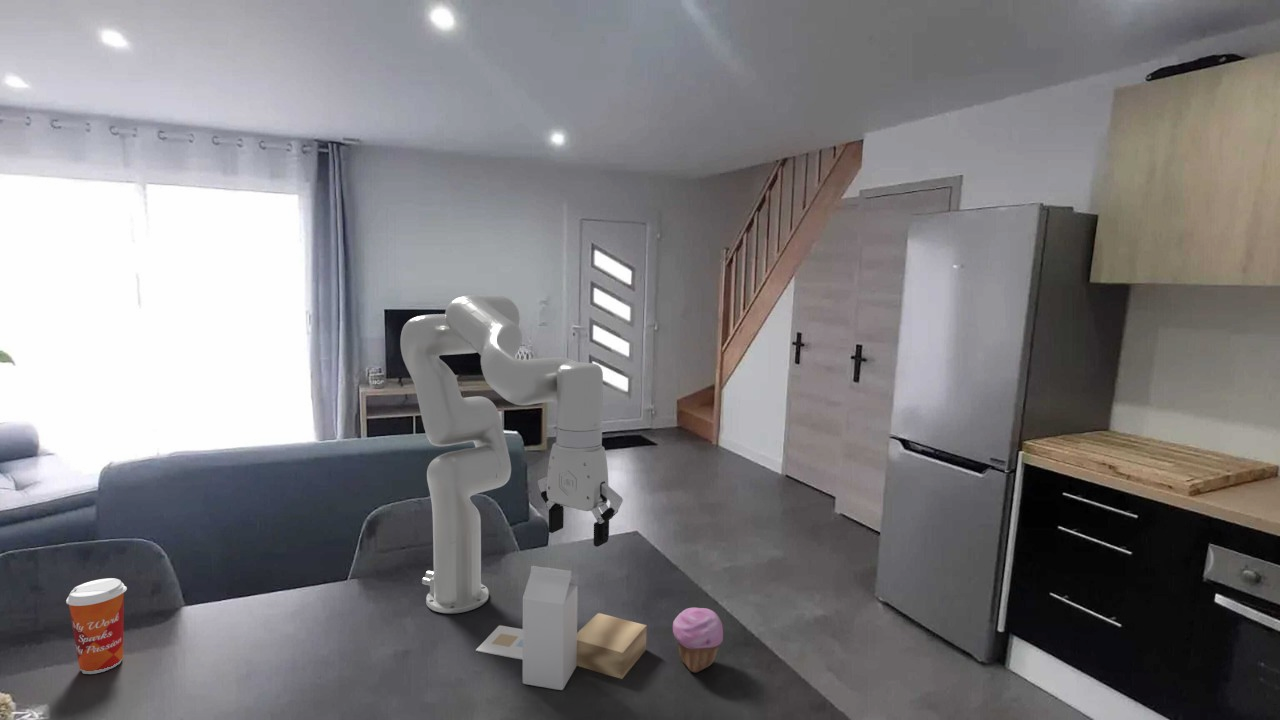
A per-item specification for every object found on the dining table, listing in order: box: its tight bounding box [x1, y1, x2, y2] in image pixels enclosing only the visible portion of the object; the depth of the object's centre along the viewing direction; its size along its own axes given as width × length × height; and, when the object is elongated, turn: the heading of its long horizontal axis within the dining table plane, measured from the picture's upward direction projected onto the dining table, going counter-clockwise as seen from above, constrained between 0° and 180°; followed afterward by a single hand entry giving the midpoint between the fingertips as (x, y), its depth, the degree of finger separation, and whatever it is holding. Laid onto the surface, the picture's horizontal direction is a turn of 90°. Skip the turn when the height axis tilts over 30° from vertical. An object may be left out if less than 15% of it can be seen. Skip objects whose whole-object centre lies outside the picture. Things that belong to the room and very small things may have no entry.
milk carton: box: [522, 565, 579, 691], centre depth 108 cm, size 7×7×19 cm
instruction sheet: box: [475, 624, 523, 661], centre depth 119 cm, size 12×9×1 cm
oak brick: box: [576, 612, 648, 680], centre depth 115 cm, size 10×10×5 cm
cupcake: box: [672, 607, 724, 673], centre depth 113 cm, size 9×9×10 cm
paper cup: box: [65, 577, 128, 671], centre depth 109 cm, size 8×8×14 cm
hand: (577, 537), depth 109 cm, fingers open, 9 cm apart
